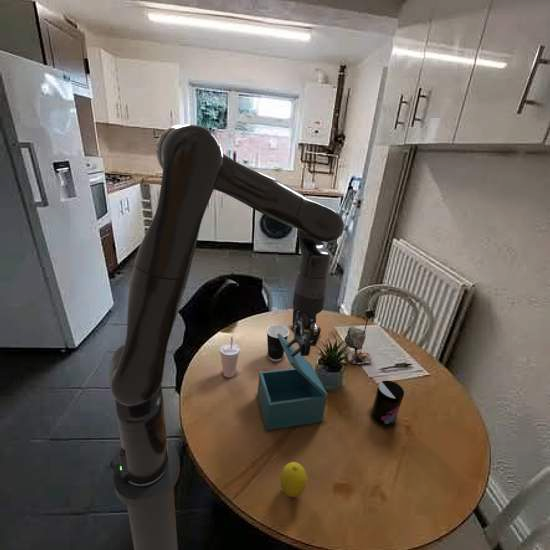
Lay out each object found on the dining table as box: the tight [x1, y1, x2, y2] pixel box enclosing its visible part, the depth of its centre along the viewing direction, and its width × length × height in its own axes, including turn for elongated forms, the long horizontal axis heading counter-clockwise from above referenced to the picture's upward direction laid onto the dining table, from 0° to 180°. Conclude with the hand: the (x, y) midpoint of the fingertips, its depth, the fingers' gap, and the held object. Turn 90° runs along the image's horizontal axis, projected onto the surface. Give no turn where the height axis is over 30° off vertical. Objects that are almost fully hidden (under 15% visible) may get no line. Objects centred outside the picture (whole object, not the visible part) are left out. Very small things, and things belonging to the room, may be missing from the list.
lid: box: [277, 333, 328, 398], centre depth 83 cm, size 16×13×6 cm
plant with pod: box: [341, 308, 376, 365], centre depth 109 cm, size 8×11×20 cm
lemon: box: [279, 461, 308, 498], centre depth 66 cm, size 6×6×8 cm
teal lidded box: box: [257, 367, 327, 431], centre depth 87 cm, size 16×13×9 cm
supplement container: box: [371, 380, 405, 427], centre depth 86 cm, size 7×7×10 cm
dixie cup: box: [265, 324, 290, 362], centre depth 108 cm, size 8×8×11 cm
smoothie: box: [219, 335, 241, 379], centre depth 97 cm, size 6×6×14 cm
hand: (301, 348), depth 81 cm, fingers closed on lid, 5 cm apart
